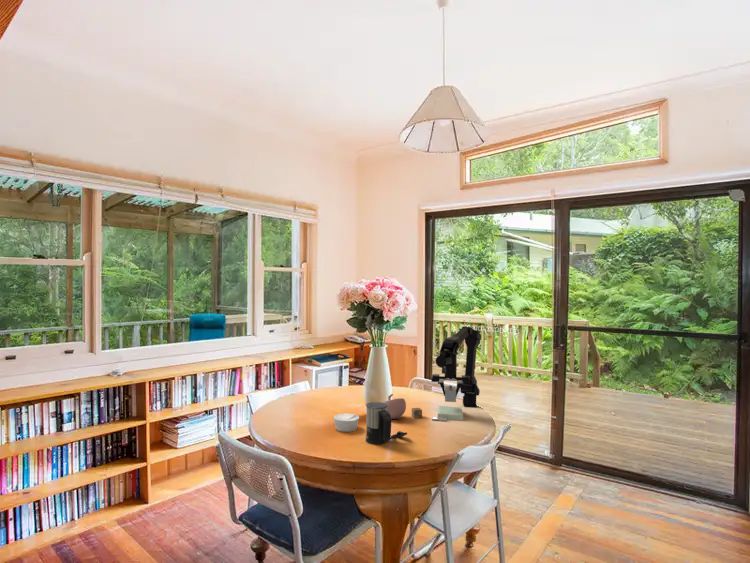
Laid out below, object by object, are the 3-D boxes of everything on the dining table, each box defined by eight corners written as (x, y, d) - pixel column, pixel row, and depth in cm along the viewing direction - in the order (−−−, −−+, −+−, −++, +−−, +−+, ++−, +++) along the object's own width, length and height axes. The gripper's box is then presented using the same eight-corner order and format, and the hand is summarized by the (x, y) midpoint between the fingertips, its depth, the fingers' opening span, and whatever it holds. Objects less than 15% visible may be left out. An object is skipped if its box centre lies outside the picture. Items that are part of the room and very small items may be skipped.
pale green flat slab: (461, 411, 226) (461, 406, 226) (463, 420, 212) (463, 414, 212) (437, 410, 228) (437, 405, 228) (437, 418, 214) (437, 413, 214)
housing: (455, 397, 224) (455, 385, 224) (455, 402, 215) (456, 389, 215) (444, 397, 225) (445, 384, 224) (445, 401, 216) (445, 388, 216)
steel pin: (447, 420, 212) (447, 417, 212) (447, 422, 210) (447, 419, 210) (432, 419, 213) (432, 416, 213) (432, 421, 211) (432, 418, 211)
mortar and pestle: (397, 413, 222) (398, 390, 222) (410, 420, 211) (411, 395, 211) (376, 416, 216) (376, 392, 216) (388, 423, 206) (388, 398, 206)
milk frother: (360, 440, 183) (361, 404, 183) (385, 431, 195) (386, 397, 195) (387, 449, 174) (387, 411, 174) (411, 439, 186) (412, 403, 185)
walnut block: (419, 415, 219) (419, 407, 219) (422, 418, 215) (422, 410, 215) (411, 416, 218) (411, 408, 218) (414, 418, 214) (414, 410, 214)
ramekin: (360, 432, 193) (360, 420, 193) (334, 433, 191) (334, 421, 191) (357, 424, 204) (357, 412, 204) (332, 425, 202) (332, 413, 202)
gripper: (468, 362, 227) (468, 393, 227) (431, 360, 229) (431, 391, 229) (470, 366, 216) (470, 398, 216) (431, 365, 218) (431, 396, 218)
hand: (450, 396), depth 220 cm, fingers closed on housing, 5 cm apart
